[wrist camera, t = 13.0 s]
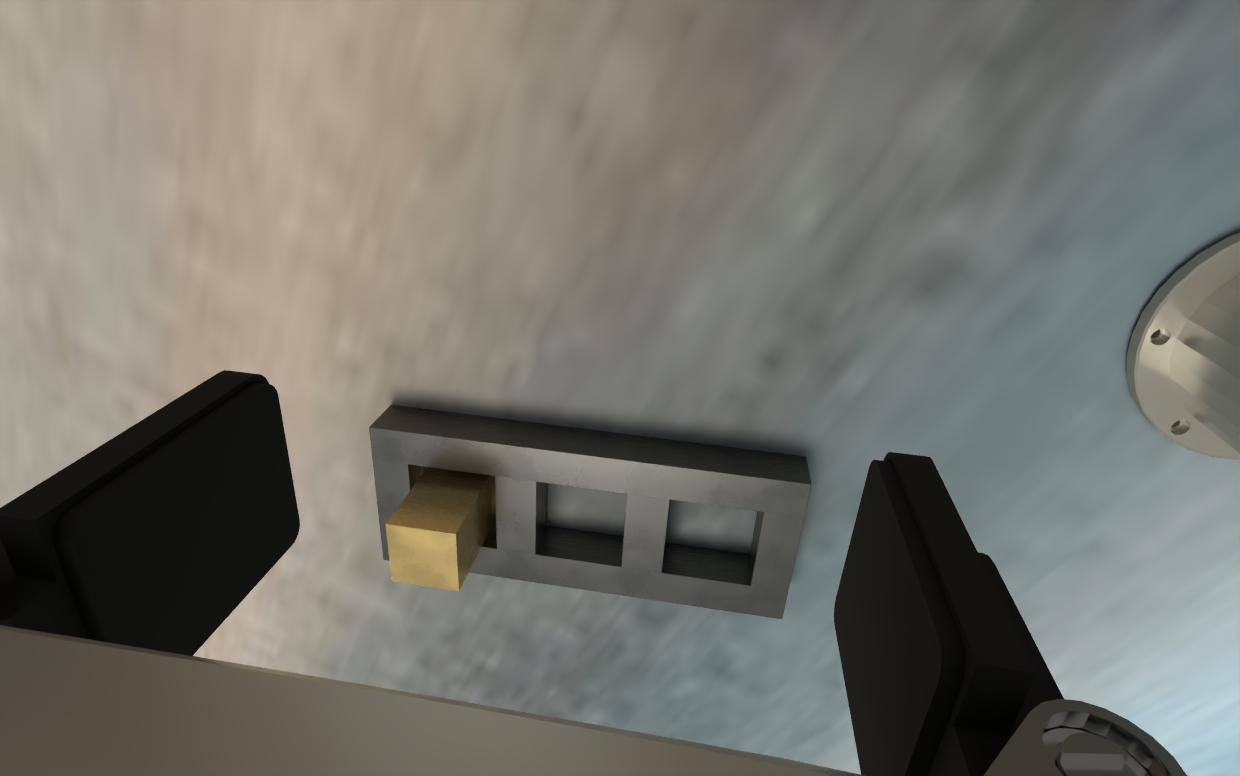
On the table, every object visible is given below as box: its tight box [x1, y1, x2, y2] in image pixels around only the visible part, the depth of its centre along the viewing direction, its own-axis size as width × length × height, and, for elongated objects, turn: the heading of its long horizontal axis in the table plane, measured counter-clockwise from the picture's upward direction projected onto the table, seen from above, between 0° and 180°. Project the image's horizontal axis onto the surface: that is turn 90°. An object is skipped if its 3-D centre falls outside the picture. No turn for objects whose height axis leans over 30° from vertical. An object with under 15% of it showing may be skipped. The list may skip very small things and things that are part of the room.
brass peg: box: [386, 467, 496, 591], centre depth 43 cm, size 4×4×8 cm
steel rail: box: [369, 405, 811, 619], centre depth 44 cm, size 26×10×3 cm, turn 86°
